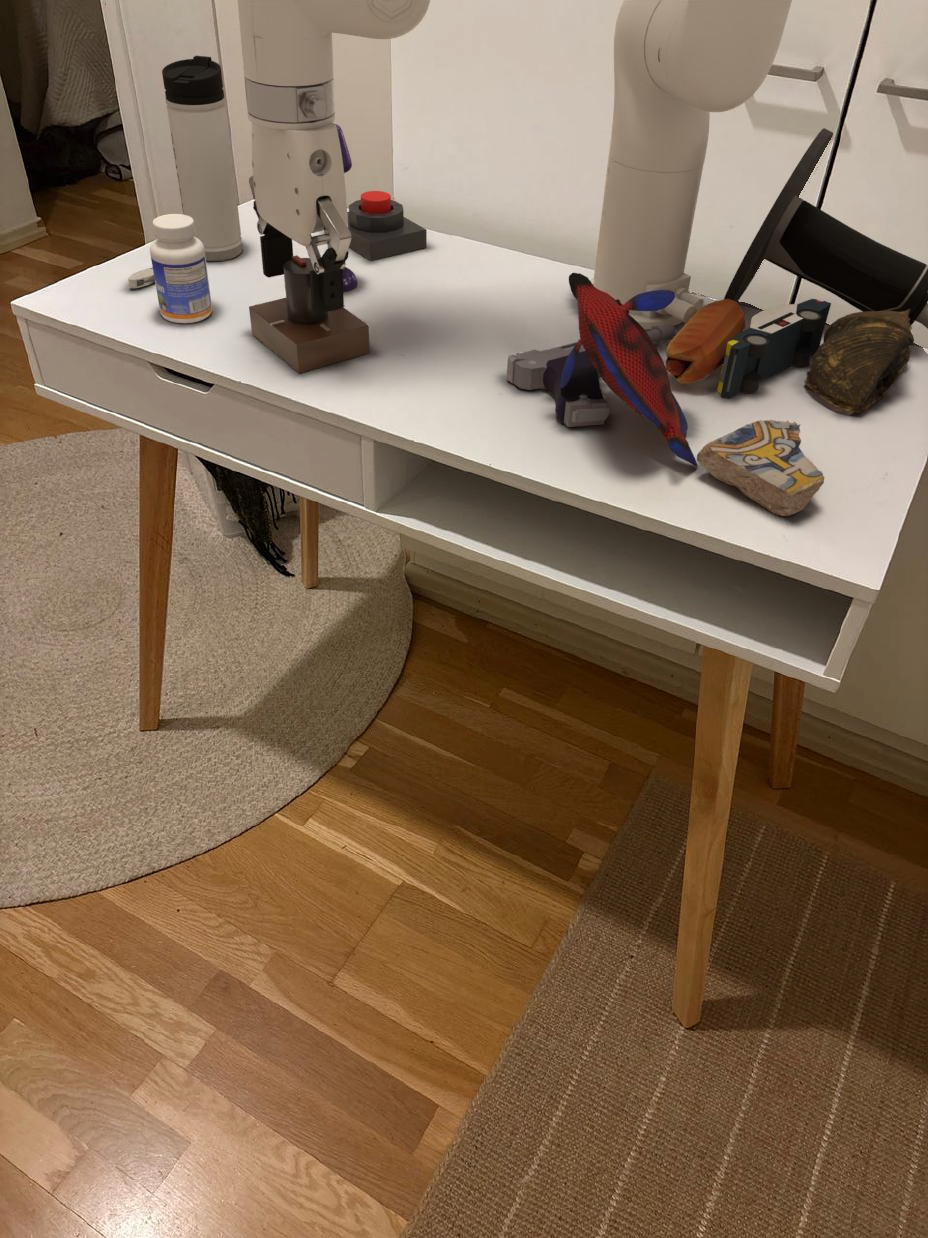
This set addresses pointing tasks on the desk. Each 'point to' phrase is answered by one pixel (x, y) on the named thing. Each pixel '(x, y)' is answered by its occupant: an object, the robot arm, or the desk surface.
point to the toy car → (772, 345)
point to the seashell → (860, 358)
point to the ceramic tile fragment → (765, 465)
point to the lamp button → (375, 202)
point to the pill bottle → (180, 270)
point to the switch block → (383, 232)
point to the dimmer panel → (309, 336)
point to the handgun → (582, 391)
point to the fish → (628, 357)
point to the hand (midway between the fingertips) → (302, 291)
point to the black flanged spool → (832, 252)
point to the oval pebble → (141, 278)
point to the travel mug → (203, 153)
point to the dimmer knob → (300, 291)
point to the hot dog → (704, 341)
